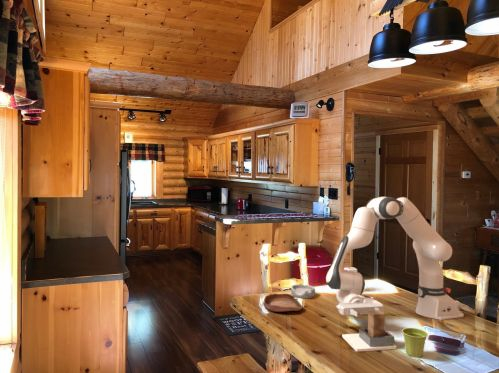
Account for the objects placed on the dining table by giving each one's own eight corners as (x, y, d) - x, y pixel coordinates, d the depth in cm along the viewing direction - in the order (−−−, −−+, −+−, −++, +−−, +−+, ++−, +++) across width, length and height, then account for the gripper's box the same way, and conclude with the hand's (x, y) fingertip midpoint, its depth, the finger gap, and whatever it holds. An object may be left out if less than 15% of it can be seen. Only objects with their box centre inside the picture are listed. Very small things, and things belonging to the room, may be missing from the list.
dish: (314, 299, 228) (314, 291, 228) (289, 298, 230) (290, 289, 230) (315, 292, 242) (315, 284, 242) (292, 291, 245) (292, 283, 244)
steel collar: (381, 335, 175) (382, 327, 174) (394, 345, 164) (394, 336, 164) (359, 336, 173) (359, 328, 173) (370, 346, 163) (370, 338, 163)
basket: (310, 313, 206) (310, 303, 206) (274, 318, 199) (274, 308, 198) (290, 300, 227) (290, 291, 227) (257, 304, 220) (257, 295, 219)
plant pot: (420, 348, 163) (421, 327, 163) (432, 359, 154) (432, 336, 154) (397, 349, 163) (398, 327, 163) (407, 359, 154) (407, 337, 154)
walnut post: (379, 338, 172) (379, 310, 171) (384, 342, 167) (385, 314, 166) (367, 338, 171) (368, 310, 170) (373, 343, 166) (373, 314, 166)
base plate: (379, 334, 178) (379, 332, 178) (396, 349, 163) (396, 346, 163) (342, 336, 175) (342, 334, 175) (356, 351, 161) (356, 349, 160)
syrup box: (348, 293, 239) (348, 269, 239) (343, 291, 245) (344, 267, 244) (357, 293, 241) (357, 268, 240) (352, 290, 246) (352, 266, 246)
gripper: (334, 298, 188) (345, 308, 174) (375, 296, 191) (390, 306, 178) (333, 312, 188) (345, 322, 175) (375, 309, 191) (389, 320, 178)
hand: (368, 314), depth 176 cm, fingers open, 8 cm apart
